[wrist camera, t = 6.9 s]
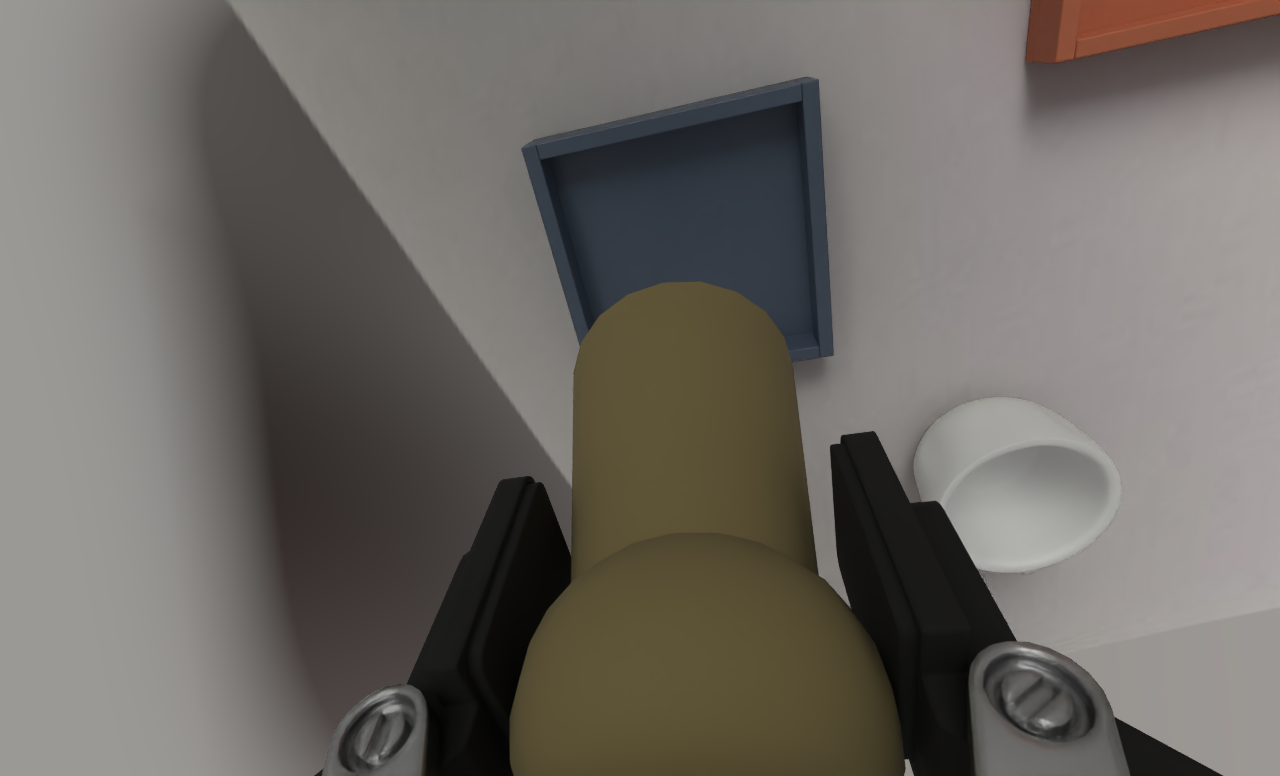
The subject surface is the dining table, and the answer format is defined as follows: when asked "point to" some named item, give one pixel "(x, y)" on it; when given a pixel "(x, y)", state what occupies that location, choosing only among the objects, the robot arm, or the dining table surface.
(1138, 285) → the dining table surface
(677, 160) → the slate tray
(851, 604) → the robot arm
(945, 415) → the teacup
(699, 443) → the pepper shaker
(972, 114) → the dining table surface
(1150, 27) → the terracotta tray
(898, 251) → the dining table surface
